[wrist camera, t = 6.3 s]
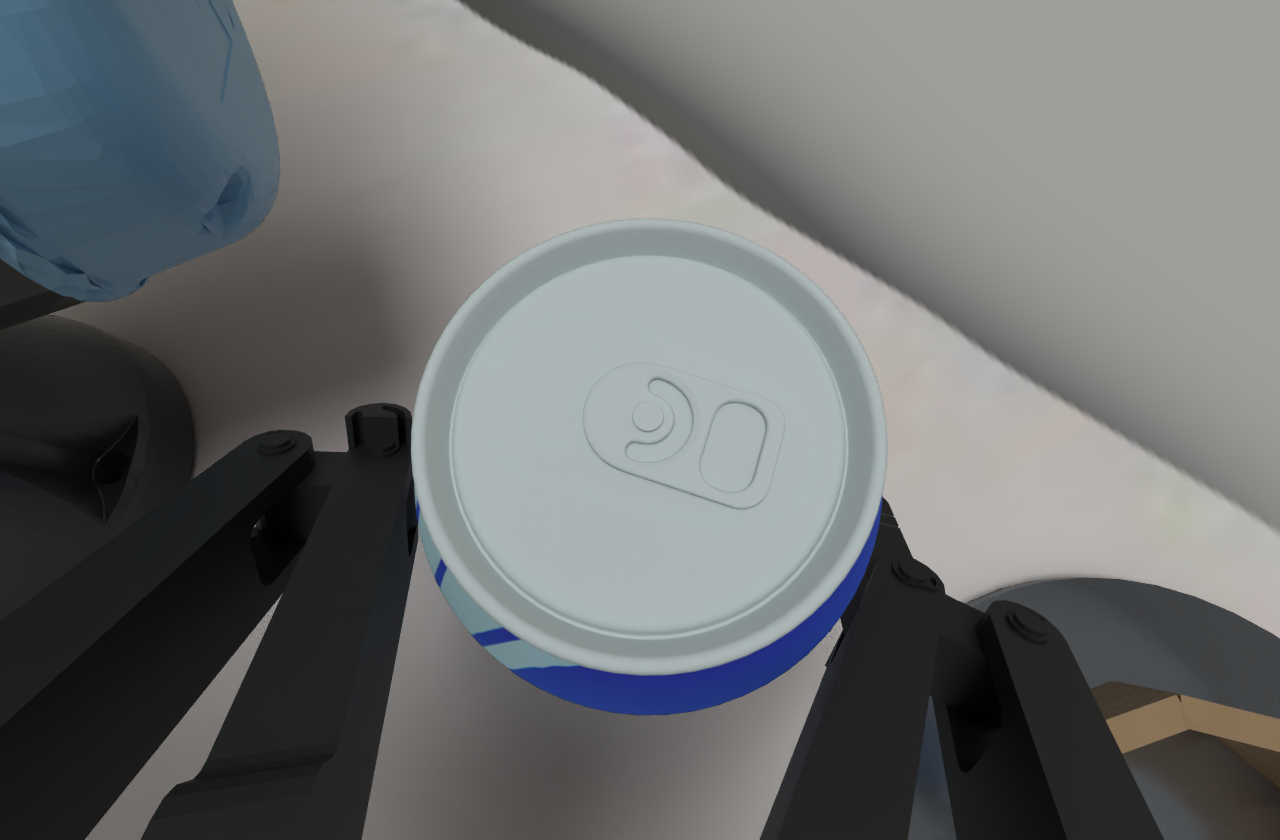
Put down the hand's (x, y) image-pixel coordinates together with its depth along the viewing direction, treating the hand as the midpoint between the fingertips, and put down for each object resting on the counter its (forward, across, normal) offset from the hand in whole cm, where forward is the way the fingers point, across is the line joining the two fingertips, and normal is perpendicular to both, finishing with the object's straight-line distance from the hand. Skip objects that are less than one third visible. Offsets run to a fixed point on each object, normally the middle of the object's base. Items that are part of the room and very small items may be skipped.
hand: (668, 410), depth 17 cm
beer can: (+2, 0, -7) cm, 8 cm away
